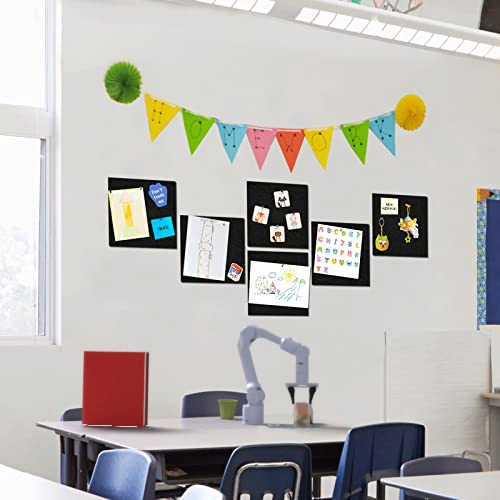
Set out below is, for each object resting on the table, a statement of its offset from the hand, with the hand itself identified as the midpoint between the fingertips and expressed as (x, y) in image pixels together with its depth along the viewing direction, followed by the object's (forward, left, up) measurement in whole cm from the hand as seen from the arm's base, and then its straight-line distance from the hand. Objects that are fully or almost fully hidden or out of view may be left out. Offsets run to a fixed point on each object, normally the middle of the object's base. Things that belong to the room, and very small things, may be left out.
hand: (301, 404), depth 445 cm
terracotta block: (0, 0, -4) cm, 4 cm away
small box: (+4, +14, -7) cm, 16 cm away
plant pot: (-28, +36, -10) cm, 47 cm away
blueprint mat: (-4, -2, -10) cm, 11 cm away
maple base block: (0, 0, -9) cm, 9 cm away
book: (-81, +4, -10) cm, 82 cm away
